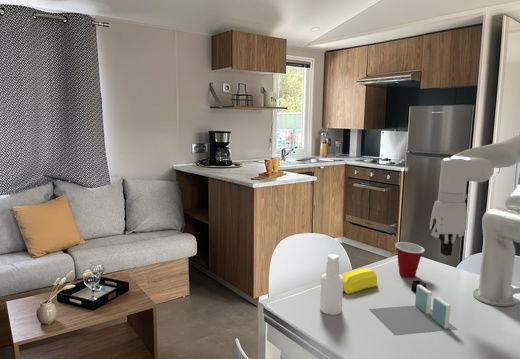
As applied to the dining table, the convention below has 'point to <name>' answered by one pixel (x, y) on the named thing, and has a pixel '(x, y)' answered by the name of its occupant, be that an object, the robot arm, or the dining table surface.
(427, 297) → the tile
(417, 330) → the mat
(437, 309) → the tile
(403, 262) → the plastic cup
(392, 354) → the dining table surface
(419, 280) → the black slotted bracket
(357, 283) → the yellow faceted bar
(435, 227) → the robot arm
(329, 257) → the spray bottle
